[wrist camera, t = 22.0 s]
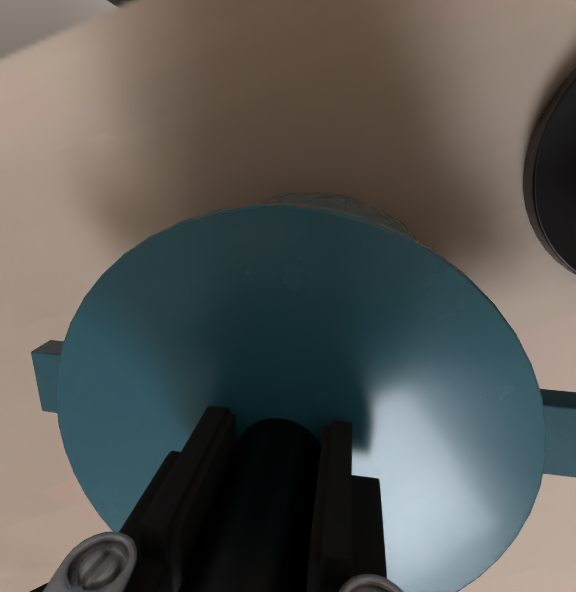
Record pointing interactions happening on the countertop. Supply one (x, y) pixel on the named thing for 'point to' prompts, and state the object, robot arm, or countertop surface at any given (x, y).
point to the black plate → (554, 176)
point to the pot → (557, 404)
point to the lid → (306, 392)
